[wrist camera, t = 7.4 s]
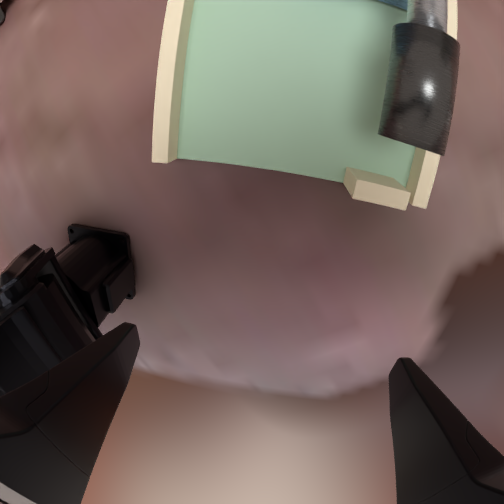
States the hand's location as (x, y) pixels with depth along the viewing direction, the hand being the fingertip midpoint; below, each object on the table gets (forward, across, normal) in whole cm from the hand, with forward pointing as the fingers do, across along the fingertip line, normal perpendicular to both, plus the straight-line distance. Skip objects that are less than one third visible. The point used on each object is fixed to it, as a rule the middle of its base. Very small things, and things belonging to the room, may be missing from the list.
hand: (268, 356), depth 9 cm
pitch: (+12, -1, -17) cm, 21 cm away
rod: (+10, -3, -19) cm, 21 cm away
